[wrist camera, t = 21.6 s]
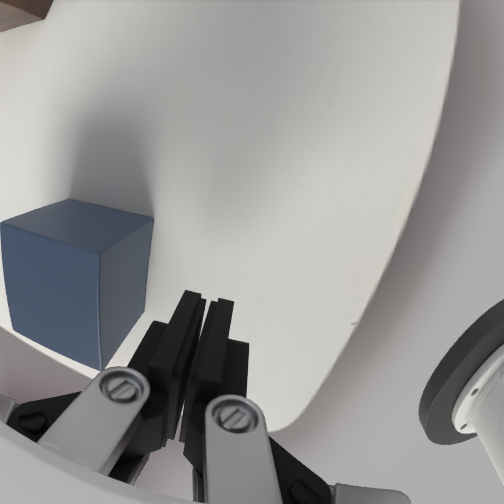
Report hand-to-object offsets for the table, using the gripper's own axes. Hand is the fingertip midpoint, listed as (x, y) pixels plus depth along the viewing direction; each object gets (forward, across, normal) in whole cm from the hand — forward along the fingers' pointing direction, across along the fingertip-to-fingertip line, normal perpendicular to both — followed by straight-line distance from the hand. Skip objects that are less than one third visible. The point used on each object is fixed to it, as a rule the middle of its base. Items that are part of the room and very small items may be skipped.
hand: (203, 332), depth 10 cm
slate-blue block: (+4, +6, 0) cm, 7 cm away
